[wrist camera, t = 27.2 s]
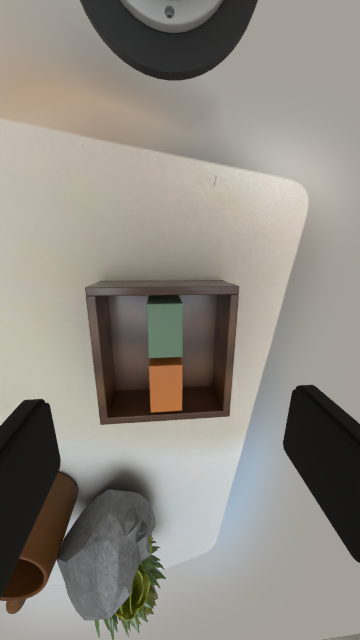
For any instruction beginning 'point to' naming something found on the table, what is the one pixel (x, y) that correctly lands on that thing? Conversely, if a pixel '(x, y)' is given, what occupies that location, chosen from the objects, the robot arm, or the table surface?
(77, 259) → the table surface
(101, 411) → the holder
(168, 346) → the packet green
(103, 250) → the table surface
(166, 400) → the packet orange
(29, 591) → the mug
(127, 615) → the potted plant
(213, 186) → the table surface
